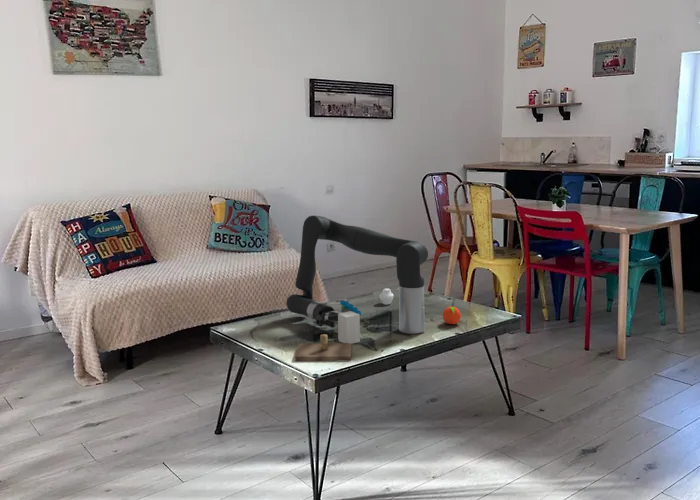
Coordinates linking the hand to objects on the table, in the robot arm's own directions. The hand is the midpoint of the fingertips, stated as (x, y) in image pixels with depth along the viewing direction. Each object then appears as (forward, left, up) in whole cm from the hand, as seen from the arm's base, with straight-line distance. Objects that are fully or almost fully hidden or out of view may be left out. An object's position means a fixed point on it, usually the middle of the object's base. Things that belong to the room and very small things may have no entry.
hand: (343, 322), depth 220 cm
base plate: (+6, +16, -6) cm, 18 cm away
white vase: (-17, -47, -6) cm, 51 cm away
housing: (-2, +3, -6) cm, 7 cm away
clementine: (-41, -16, -6) cm, 44 cm away
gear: (-1, -28, -6) cm, 29 cm away
